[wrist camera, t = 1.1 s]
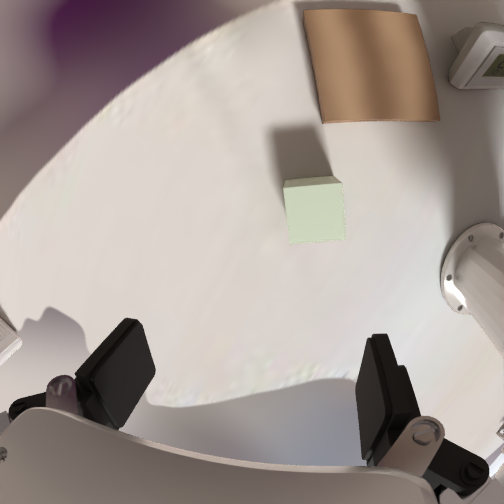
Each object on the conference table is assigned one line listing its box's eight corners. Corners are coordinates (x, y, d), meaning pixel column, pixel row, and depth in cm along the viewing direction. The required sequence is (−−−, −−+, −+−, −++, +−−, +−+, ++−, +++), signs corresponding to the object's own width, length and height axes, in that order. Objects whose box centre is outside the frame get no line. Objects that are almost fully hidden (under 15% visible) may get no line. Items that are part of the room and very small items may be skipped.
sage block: (333, 175, 28) (342, 182, 23) (337, 222, 30) (345, 239, 25) (285, 179, 29) (283, 188, 24) (291, 226, 31) (289, 244, 25)
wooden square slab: (407, 23, 20) (416, 14, 17) (428, 121, 24) (439, 120, 22) (303, 21, 23) (303, 10, 20) (322, 123, 27) (325, 121, 24)
